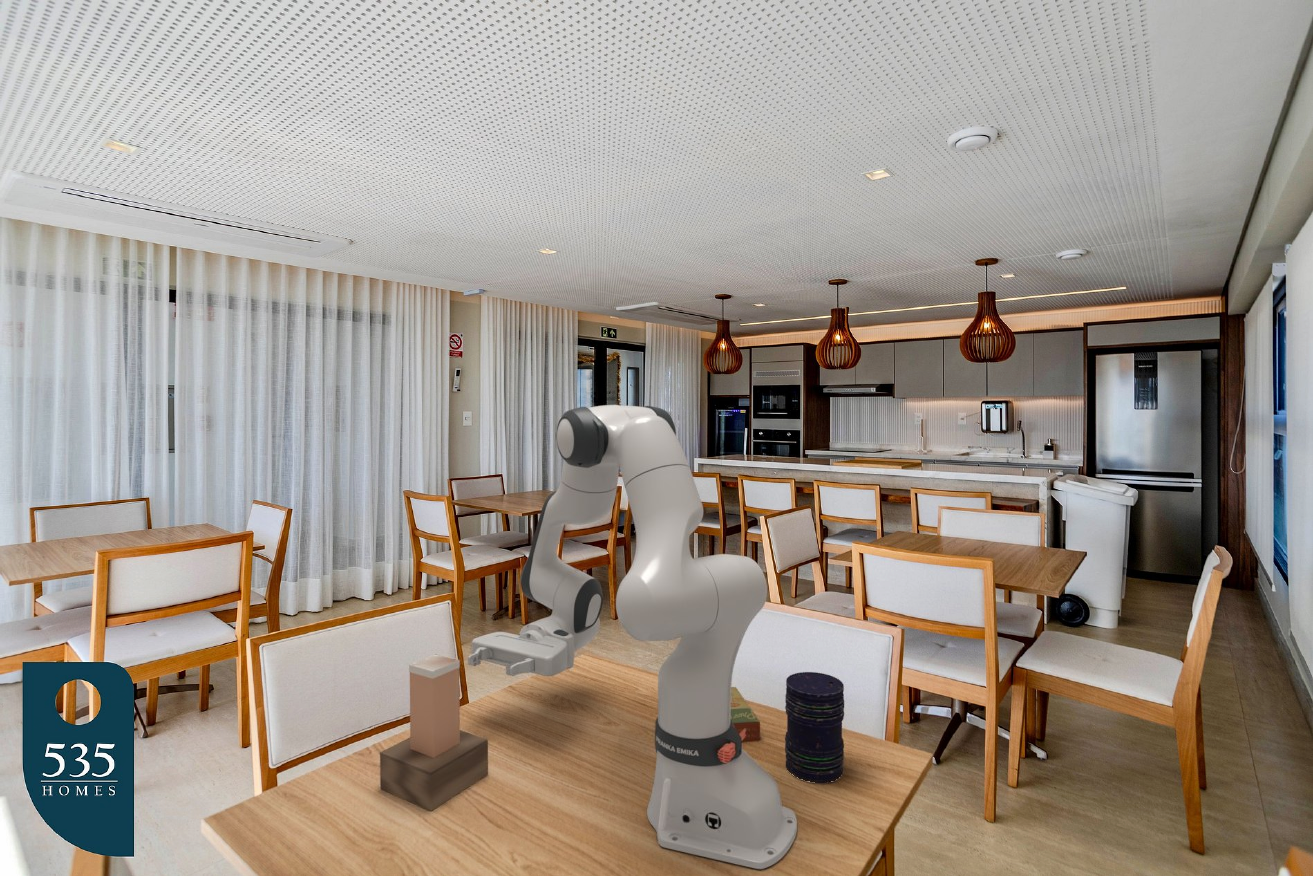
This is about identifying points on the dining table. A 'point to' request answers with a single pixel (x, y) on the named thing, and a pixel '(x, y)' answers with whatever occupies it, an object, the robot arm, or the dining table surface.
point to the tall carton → (434, 705)
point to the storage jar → (814, 726)
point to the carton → (744, 717)
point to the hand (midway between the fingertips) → (489, 666)
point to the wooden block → (433, 771)
